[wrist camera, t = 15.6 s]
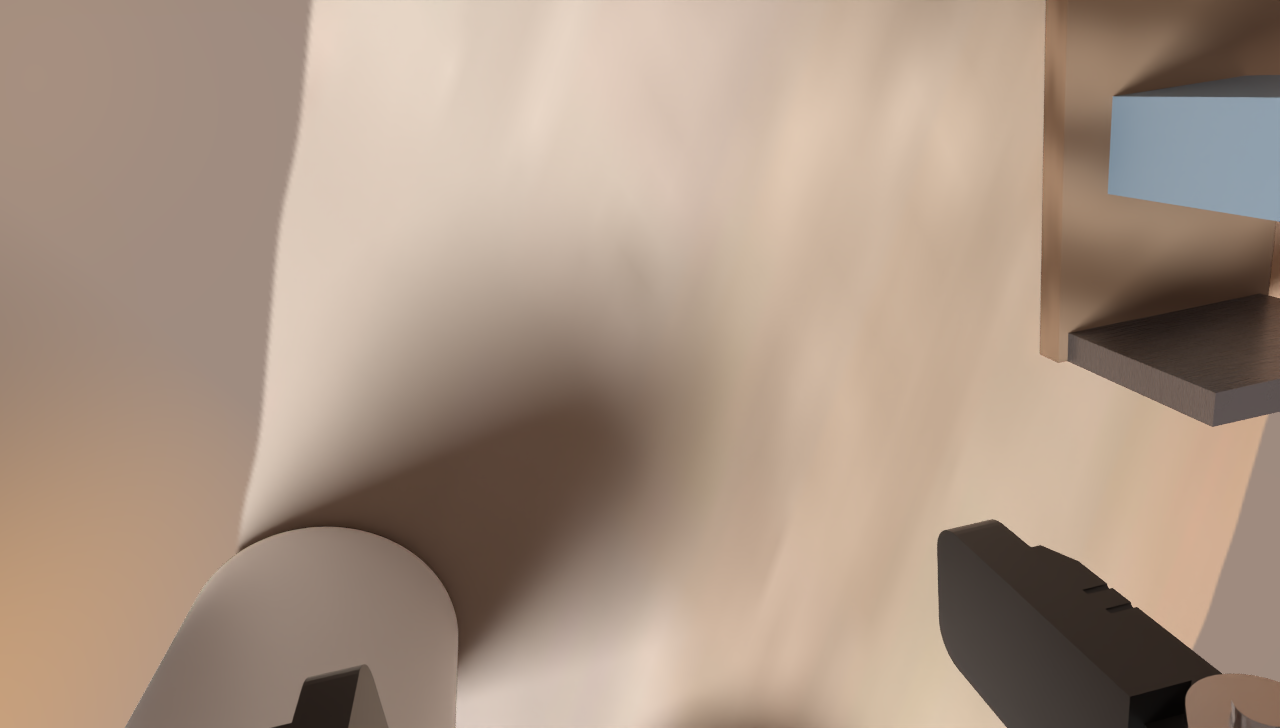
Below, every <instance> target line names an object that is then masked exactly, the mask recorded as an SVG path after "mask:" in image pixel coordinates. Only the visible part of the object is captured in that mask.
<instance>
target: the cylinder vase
mask: <svg viewBox="0 0 1280 728" xmlns="http://www.w3.org/2000/svg"><path fill="white" fill-rule="evenodd" d="M363 664H366V665H367V666H368V667H369V669H370V670H371V673H372V675H373V678H374V681H375V684H376V688H377V691H378V694H379V698H380V701H381V704H382V708H383V711H384V714H385V718H386V721H387V724H388V727H389V728H455V726H456V695H457V664H458V625H457V619H456V614H455V611H454V607H453V604H452V602H451V599H450V597H449V595H448V593H447V591H446V589H445V587H444V586H443V584H442V583H441V581H440V580H439V578H438V577H437V576H436V574H435V573H434V572H433V571H432V570H431V569H430V568H429V567H428V566H427V565H426V564H425V563H424V562H423V561H422V560H421V559H420V558H418V557H417V556H416V555H415V554H413V553H412V552H410V551H409V550H407V549H406V548H404V547H403V546H401V545H399V544H397V543H395V542H393V541H391V540H389V539H386V538H384V537H381V536H379V535H376V534H373V533H369V532H366V531H361V530H357V529H351V528H343V527H310V528H302V529H296V530H291V531H287V532H283V533H280V534H276V535H273V536H271V537H268V538H265V539H263V540H261V541H258V542H256V543H254V544H252V545H250V546H249V547H247V548H245V549H244V550H242V551H240V552H239V553H237V554H236V555H234V556H233V557H232V558H230V559H229V560H228V561H227V562H226V563H224V564H223V565H222V566H221V567H220V568H219V569H218V570H217V571H216V572H215V573H214V574H213V575H212V576H211V578H210V579H209V580H208V581H207V583H206V584H205V585H204V587H203V588H202V590H201V591H200V593H199V595H198V596H197V598H196V600H195V602H194V604H193V605H192V607H191V609H190V611H189V613H188V614H187V616H186V618H185V620H184V622H183V623H182V625H181V627H180V629H179V631H178V633H177V634H176V636H175V638H174V640H173V642H172V643H171V645H170V647H169V649H168V651H167V652H166V654H165V656H164V658H163V660H162V661H161V663H160V665H159V667H158V669H157V671H156V672H155V674H154V676H153V678H152V680H151V681H150V683H149V685H148V687H147V689H146V691H145V693H144V694H143V696H142V698H141V700H140V701H139V703H138V705H137V707H136V708H135V710H134V712H133V714H132V716H131V718H130V719H129V721H128V723H127V725H126V727H125V728H272V727H276V726H280V725H284V724H288V723H292V720H293V716H294V713H295V709H296V706H297V702H298V699H299V696H300V692H301V689H302V686H303V683H304V681H305V679H306V678H307V677H311V676H316V675H320V674H324V673H329V672H333V671H337V670H341V669H346V668H350V667H354V666H359V665H363Z"/></svg>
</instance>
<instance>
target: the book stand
mask: <svg viewBox="0 0 1280 728" xmlns="http://www.w3.org/2000/svg"><path fill="white" fill-rule="evenodd" d="M1251 75H1280V0H1046V33H1045V91H1044V150H1043V209H1042V267H1041V326H1040V354H1041V355H1043V356H1045V357H1047V358H1049V359H1051V360H1053V361H1056V362H1058V363H1060V362H1065V361H1067V360H1068V333H1071V332H1076V331H1081V330H1086V329H1091V328H1095V327H1100V326H1105V325H1110V324H1115V323H1120V322H1125V321H1129V320H1134V319H1139V318H1144V317H1149V316H1154V315H1158V314H1163V313H1168V312H1173V311H1178V310H1183V309H1187V308H1192V307H1197V306H1202V305H1207V304H1212V303H1216V302H1221V301H1226V300H1231V299H1236V298H1241V297H1246V296H1250V295H1255V294H1264V295H1268V293H1269V284H1270V275H1271V266H1272V257H1273V248H1274V238H1275V229H1276V221H1272V220H1266V219H1260V218H1254V217H1248V216H1241V215H1235V214H1229V213H1223V212H1217V211H1210V210H1204V209H1198V208H1192V207H1185V206H1179V205H1173V204H1167V203H1161V202H1154V201H1148V200H1142V199H1136V198H1130V197H1123V196H1117V195H1111V194H1108V178H1109V158H1110V139H1111V119H1112V100H1113V96H1119V95H1125V94H1132V93H1138V92H1144V91H1151V90H1157V89H1164V88H1170V87H1176V86H1183V85H1189V84H1195V83H1202V82H1208V81H1215V80H1221V79H1227V78H1234V77H1240V76H1251Z"/></svg>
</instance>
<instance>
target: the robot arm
mask: <svg viewBox="0 0 1280 728" xmlns="http://www.w3.org/2000/svg"><path fill="white" fill-rule="evenodd" d="M937 557H938V596H939V624H940V630H941V634H942V638H943V641H944V644H945V647H946V649H947V651H948V654H949V656H950V657H951V659H952V661H953V663H954V664H955V665H956V667H957V668H958V669H959V671H960V672H961V673H962V674H963V675H964V677H965V678H966V679H967V680H968V681H969V683H970V684H971V685H972V686H973V687H974V689H975V690H976V691H977V692H978V693H979V695H980V696H981V697H982V698H983V699H984V701H985V702H986V703H987V704H988V705H989V707H990V708H991V709H992V710H993V711H994V713H995V714H996V715H997V716H998V717H999V719H1000V720H1001V721H1002V722H1003V723H1004V725H1005V726H1006V727H1007V728H1280V682H1277V681H1274V680H1271V679H1268V678H1263V677H1258V676H1254V675H1246V674H1222V673H1221V672H1219V671H1218V670H1217V669H1215V668H1214V667H1213V666H1211V665H1210V664H1209V663H1208V662H1206V661H1205V660H1204V659H1202V658H1201V657H1200V656H1199V655H1197V654H1196V653H1195V652H1194V651H1192V650H1191V649H1190V648H1189V647H1187V646H1186V645H1185V644H1183V643H1182V642H1181V641H1180V640H1178V639H1177V638H1176V637H1175V636H1173V635H1172V634H1171V633H1169V632H1168V631H1167V630H1166V629H1164V628H1163V627H1162V626H1160V625H1159V624H1158V623H1157V622H1155V621H1154V620H1153V619H1152V618H1150V617H1149V616H1148V615H1146V614H1145V613H1144V612H1143V611H1141V610H1140V609H1139V608H1137V607H1135V608H1133V607H1132V605H1131V602H1130V601H1128V600H1127V599H1126V598H1125V597H1123V596H1122V595H1121V594H1120V593H1118V592H1117V591H1116V590H1114V589H1113V588H1111V589H1109V588H1108V586H1107V583H1105V582H1104V581H1103V580H1102V579H1100V578H1099V577H1098V576H1097V575H1095V574H1094V573H1093V572H1091V571H1090V570H1089V569H1088V568H1086V567H1085V566H1084V565H1082V564H1081V563H1080V562H1079V561H1076V560H1074V559H1072V558H1069V557H1067V556H1065V555H1062V554H1060V553H1058V552H1055V551H1053V550H1050V549H1048V548H1046V547H1043V546H1041V545H1039V546H1035V547H1030V546H1028V545H1027V544H1026V543H1025V542H1024V541H1022V540H1021V539H1020V538H1019V537H1018V536H1016V535H1015V534H1014V533H1013V532H1011V531H1010V530H1009V529H1008V528H1007V527H1005V526H1004V525H1003V524H1002V523H1000V522H999V521H996V520H987V521H983V522H979V523H974V524H970V525H966V526H962V527H957V528H953V529H949V530H944V531H942V532H941V533H940V535H939V538H938V542H937ZM272 728H389V727H388V724H387V721H386V718H385V714H384V711H383V708H382V704H381V701H380V698H379V694H378V691H377V688H376V684H375V681H374V678H373V675H372V673H371V670H370V669H369V667H368V666H367V665H366V664H363V665H359V666H354V667H350V668H346V669H341V670H337V671H333V672H329V673H324V674H320V675H316V676H311V677H307V678H306V679H305V681H304V683H303V686H302V689H301V692H300V696H299V699H298V702H297V706H296V709H295V713H294V716H293V720H292V723H288V724H284V725H280V726H276V727H272Z"/></svg>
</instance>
